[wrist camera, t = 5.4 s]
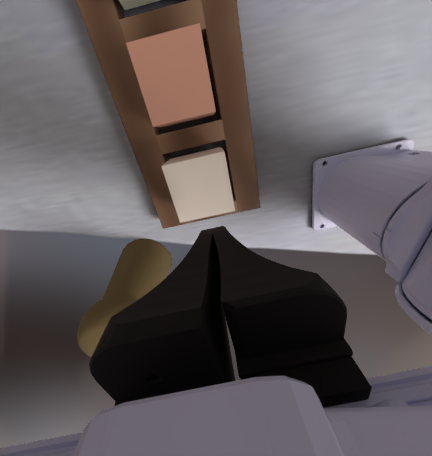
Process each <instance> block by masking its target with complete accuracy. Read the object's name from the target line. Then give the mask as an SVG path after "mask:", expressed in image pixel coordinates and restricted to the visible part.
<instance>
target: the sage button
mask: <svg viewBox="0 0 432 456" xmlns="http://www.w3.org/2000/svg"><path fill="white" fill-rule="evenodd" d="M157 1H161V0H119V2H120V3H121V5H122V6H123V8H124V9H125V10H128V9H132V8H136V7H139V6H143V5H146V4H150V3H153V2H157Z"/></svg>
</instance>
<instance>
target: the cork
mask: <svg viewBox="0 0 432 456" xmlns="http://www.w3.org/2000/svg"><path fill="white" fill-rule="evenodd" d="M171 266H172V257H171V254H170V252H169V251H168V250H167V248H166V247H165V246H163V245H162V244H160V243H159V242H157V241H154V240H151V239H139V240H134V241H132V242H131V243H129V244H127V246H126V247H125V248H124V250H123V252H122V254H121V256H120V259H119V261H118V263H117V266H116V268H115V270H114V273H113V276H112V278H111V280H110V282H109V285H108V287H107V290H106V292H105V294H104V297H103V299H102V300H100V301H98V302H96V303H95V304H94V305H93V306H92V307H91V308H90V309H89V310H88V311H87V312H86V314H85V315H84V317H83V318H82V320H81V322H80V325H79V328H78V332H77V340H78V344H79V347H80V348H81V349H82V351H83V352H84V353H86V354H87V355H88V356H90V357H92V355H93V353H94V351H95V349H96V347H97V345H98V343H99V341H100V338H101V336H102V334H103V332H104V330H105V328H106V326H107V324H108V322H109V320H110V318H111V317H112V316H113V315H115V314H117V313H118V312H120V311H122V310H123V309H125V308H126V307H128V306H129V305H131V304H133V303H134V302H136V301H137V300H139V299H140V298H141V297H143V296H144V295H146V294H147V293H148V292H150V291H151V290H152V289H153V288H155V287H156V286H157V285H158V284H160V283H161V282H162V281H163V280H164V279H165V278H166V277H167V275H168V273H169V271H170V268H171Z"/></svg>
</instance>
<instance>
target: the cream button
mask: <svg viewBox="0 0 432 456" xmlns="http://www.w3.org/2000/svg"><path fill="white" fill-rule="evenodd" d="M161 167H162V170H163V173H164V176H165V179H166V182H167V185H168V188H169V191H170V194H171V197H172V200H173V203H174V206H175V209H176V212H177V215H178V218H179V221H180V223H182V222H187V221H191V220H196V219H200V218H205V217H210V216H214V215H219V214H223V213H228V212H233V211H235V207H234V201H233V196H232V190H231V185H230V179H229V174H228V168H227V163H226V157H225V152H224V150H223V149H222V148H221V147H217V148H213V149H209V150H205V151H200V152H196V153H192V154H188V155H183V156H179V157H175V158H171V159H169V160H168V161H167V162H166V163H164V164H163V165H162V166H161Z"/></svg>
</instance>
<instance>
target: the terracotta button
mask: <svg viewBox="0 0 432 456" xmlns="http://www.w3.org/2000/svg"><path fill="white" fill-rule="evenodd" d="M126 45H127V48H128V51H129V54H130V57H131V61H132V64H133V67H134V70H135V73H136V76H137V79H138V82H139V85H140V89H141V92H142V95H143V98H144V101H145V104H146V107H147V110H148V113H149V116H150V120H151V123H152V126H153V127H168V126H172V125H176V124H180V123H184V122H188V121H192V120H196V119H200V118H204V117H209V116H213V115H214V114H215V112H216V109H215V103H214V98H213V93H212V87H211V82H210V76H209V71H208V65H207V60H206V54H205V49H204V44H203V38H202V33H201V27H200V23H198V24H194V25H190V26H187V27H183V28H179V29H176V30H172V31H168V32H164V33H161V34H157V35H153V36H150V37H146V38H142V39H139V40H135V41H131V42H127V43H126Z"/></svg>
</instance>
